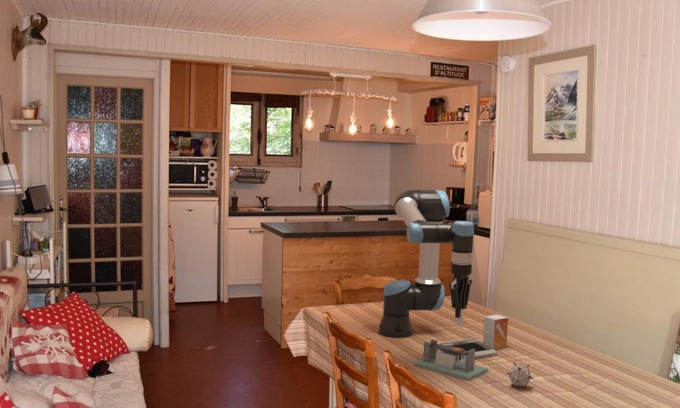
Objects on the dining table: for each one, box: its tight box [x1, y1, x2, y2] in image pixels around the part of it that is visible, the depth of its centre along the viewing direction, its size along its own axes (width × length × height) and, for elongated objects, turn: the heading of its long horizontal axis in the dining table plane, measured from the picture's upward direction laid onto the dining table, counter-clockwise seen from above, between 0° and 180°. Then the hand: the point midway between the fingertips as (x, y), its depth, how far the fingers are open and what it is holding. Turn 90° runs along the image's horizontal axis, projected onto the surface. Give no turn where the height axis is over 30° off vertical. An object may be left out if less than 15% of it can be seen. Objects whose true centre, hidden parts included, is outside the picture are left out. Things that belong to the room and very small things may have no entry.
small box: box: [482, 314, 509, 351], centre depth 280 cm, size 8×6×13 cm
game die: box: [506, 362, 534, 390], centre depth 233 cm, size 9×8×10 cm
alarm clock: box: [439, 338, 498, 360], centre depth 271 cm, size 17×5×16 cm
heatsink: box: [435, 350, 465, 370], centre depth 251 cm, size 8×9×6 cm
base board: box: [412, 338, 489, 381], centre depth 250 cm, size 24×14×9 cm, turn 50°
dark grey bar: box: [430, 342, 468, 356], centre depth 251 cm, size 17×3×2 cm, turn 50°
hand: (458, 325), depth 248 cm, fingers closed
